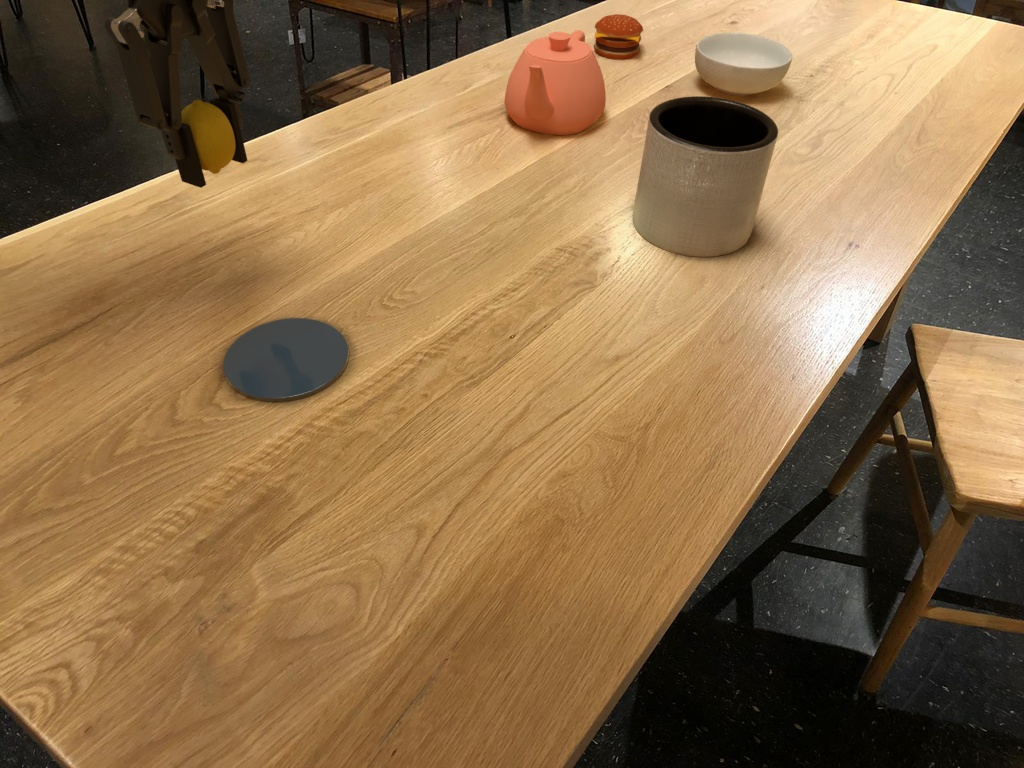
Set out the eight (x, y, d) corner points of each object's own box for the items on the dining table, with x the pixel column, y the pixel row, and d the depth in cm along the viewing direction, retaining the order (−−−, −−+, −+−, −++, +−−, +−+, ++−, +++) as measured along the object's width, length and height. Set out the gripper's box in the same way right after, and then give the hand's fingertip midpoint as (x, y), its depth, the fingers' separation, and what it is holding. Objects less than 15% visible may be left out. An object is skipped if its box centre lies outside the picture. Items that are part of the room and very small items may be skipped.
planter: (769, 257, 100) (803, 146, 90) (653, 269, 98) (674, 155, 87) (721, 196, 112) (746, 91, 101) (616, 205, 109) (631, 98, 98)
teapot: (576, 159, 119) (584, 72, 110) (477, 139, 123) (477, 54, 114) (619, 99, 136) (629, 20, 127) (531, 83, 140) (535, 5, 131)
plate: (199, 380, 80) (195, 370, 79) (282, 315, 89) (280, 304, 88) (296, 425, 76) (293, 415, 75) (374, 352, 84) (372, 341, 83)
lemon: (178, 180, 81) (156, 107, 76) (207, 158, 85) (189, 86, 80) (224, 189, 80) (205, 115, 75) (252, 165, 84) (236, 93, 79)
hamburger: (594, 41, 157) (597, 7, 153) (640, 45, 156) (645, 11, 152) (590, 58, 150) (593, 22, 146) (639, 62, 149) (644, 26, 145)
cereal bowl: (673, 89, 140) (680, 49, 135) (713, 63, 150) (721, 25, 145) (759, 115, 133) (770, 74, 128) (796, 86, 143) (807, 47, 138)
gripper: (93, -44, 59) (176, 219, 75) (257, -89, 71) (298, 145, 87) (28, -58, 62) (121, 199, 78) (197, -100, 74) (248, 130, 90)
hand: (215, 170), depth 82 cm, fingers closed on lemon, 5 cm apart
